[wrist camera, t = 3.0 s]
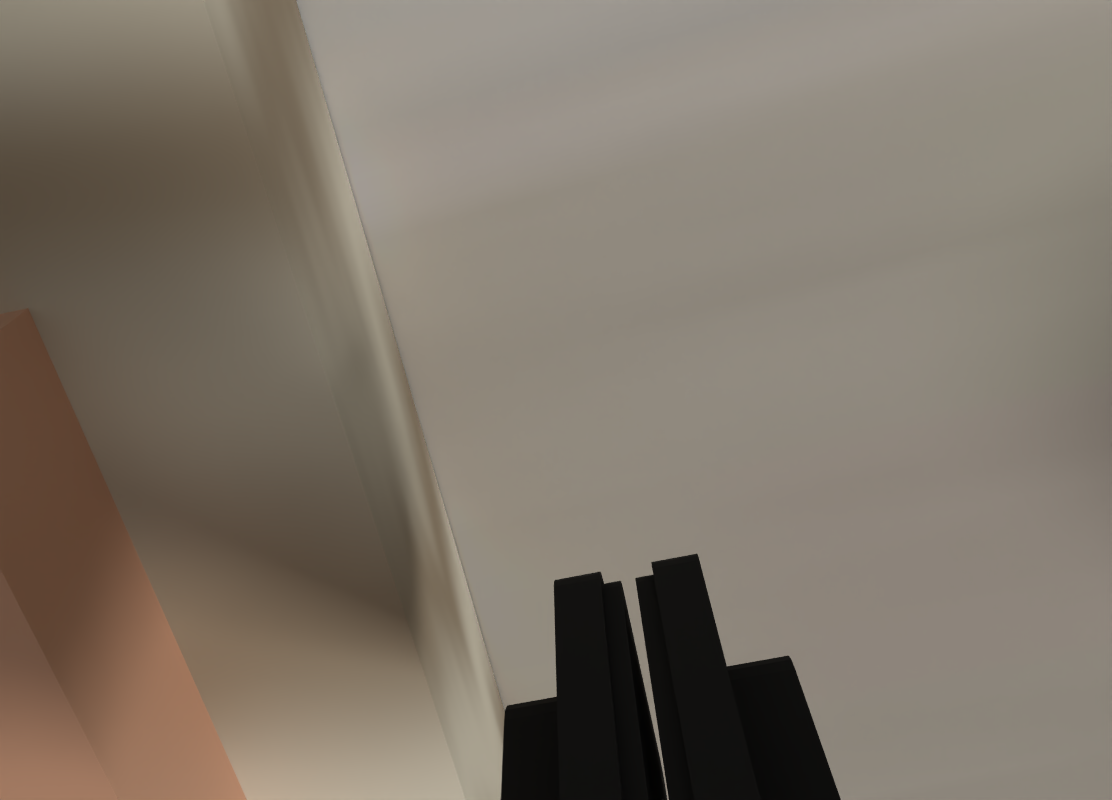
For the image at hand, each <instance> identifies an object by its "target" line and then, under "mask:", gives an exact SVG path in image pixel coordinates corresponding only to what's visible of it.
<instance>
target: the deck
mask: <svg viewBox="0 0 1112 800" xmlns="http://www.w3.org/2000/svg"><path fill="white" fill-rule="evenodd" d="M26 308H28V309H29V311H30V313H31V316H32V318H33V320H34V322H35V325H36V327H37V329H38V331H39V334H40V336H41V338H42V340H43V343H44V345H45V347H46V349H47V352H48V354H49V356H50V358H51V361H52V363H53V365H54V367H55V370H56V372H57V374H58V376H59V379H60V381H61V383H62V385H63V388H64V390H65V392H66V394H67V397H68V399H69V401H70V403H71V406H72V408H73V410H74V412H75V415H76V417H77V419H78V421H79V424H80V426H81V428H82V430H83V432H84V435H85V437H86V439H87V441H88V444H89V446H90V448H91V450H92V453H93V455H94V457H95V459H96V462H97V464H98V466H99V468H100V471H101V473H102V475H103V477H104V480H105V482H106V484H107V486H108V489H109V491H110V493H111V495H112V498H113V500H114V502H115V504H116V507H117V509H118V511H119V513H120V516H121V518H122V520H123V522H124V525H125V527H126V529H127V531H128V534H129V536H130V538H131V540H132V543H133V545H134V547H135V549H136V552H137V554H138V556H139V558H140V561H141V563H142V565H143V567H144V570H145V572H146V574H147V576H148V579H149V581H150V583H151V585H152V588H153V590H154V592H155V594H156V597H157V599H158V601H159V603H160V606H161V608H162V610H163V612H164V615H165V617H166V619H167V621H168V624H169V626H170V628H171V630H172V632H173V635H174V637H175V639H176V641H177V644H178V646H179V648H180V650H181V653H182V655H183V657H184V659H185V662H186V664H187V666H188V668H189V671H190V673H191V675H192V677H193V680H194V682H195V684H196V686H197V689H198V691H199V693H200V695H201V698H202V700H203V702H204V704H205V707H206V709H207V711H208V713H209V716H210V718H211V720H212V722H213V725H214V727H215V729H216V731H217V734H218V736H219V738H220V740H221V743H222V745H223V747H224V749H225V752H226V754H227V756H228V758H229V761H230V763H231V765H232V767H233V770H234V772H235V774H236V776H237V779H238V781H239V783H240V785H241V788H242V790H243V792H244V794H245V797H246V799H247V800H501V782H502V758H503V734H504V716H505V712H504V709H503V705H502V702H501V698H500V695H499V692H498V688H497V685H496V681H495V678H494V674H493V671H492V668H491V664H490V661H489V657H488V654H487V651H486V647H485V644H484V640H483V637H482V634H481V630H480V627H479V623H478V620H477V616H476V613H475V610H474V606H473V603H472V599H471V596H470V593H469V589H468V586H467V582H466V579H465V576H464V572H463V569H462V565H461V562H460V558H459V555H458V552H457V548H456V545H455V541H454V538H453V535H452V531H451V528H450V524H449V521H448V518H447V514H446V511H445V507H444V504H443V500H442V497H441V494H440V490H439V487H438V483H437V480H436V477H435V473H434V470H433V466H432V463H431V460H430V456H429V453H428V449H427V446H426V442H425V439H424V436H423V432H422V429H421V425H420V422H419V419H418V415H417V412H416V408H415V405H414V402H413V398H412V395H411V391H410V388H409V384H408V381H407V378H406V374H405V371H404V367H403V364H402V361H401V357H400V354H399V350H398V347H397V344H396V340H395V337H394V333H393V330H392V326H391V323H390V320H389V316H388V313H387V309H386V306H385V303H384V299H383V296H382V292H381V289H380V286H379V282H378V279H377V275H376V272H375V269H374V265H373V262H372V258H371V255H370V251H369V248H368V245H367V241H366V238H365V234H364V231H363V228H362V224H361V221H360V217H359V214H358V211H357V207H356V204H355V200H354V197H353V193H352V190H351V187H350V183H349V180H348V176H347V173H346V170H345V166H344V163H343V159H342V156H341V153H340V149H339V146H338V142H337V139H336V135H335V132H334V129H333V125H332V122H331V118H330V115H329V112H328V108H327V105H326V101H325V98H324V95H323V91H322V88H321V84H320V81H319V77H318V74H317V71H316V67H315V64H314V60H313V57H312V54H311V50H310V47H309V43H308V40H307V37H306V33H305V30H304V26H303V23H302V19H301V16H300V13H299V9H298V6H297V2H296V0H0V314H3V313H7V312H12V311H17V310H22V309H26Z"/></svg>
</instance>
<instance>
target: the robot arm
mask: <svg viewBox="0 0 1112 800" xmlns="http://www.w3.org/2000/svg"><path fill="white" fill-rule="evenodd" d="M651 563H652V569H653V574H654V575H649V576H644V577H639V578H636V586H637V592H638V599H639V605H640V612H641V618H642V625H643V632H644V638H645V645H646V651H647V658H648V664H649V671H650V678H651V684H652V691H653V697H654V704H655V710H656V717H657V724H658V730H659V737H660V743H661V750H662V756H663V763H664V770H665V776H666V783H667V789H668V796H669V800H841V799H840V796H839V793H838V791H837V788H836V785H835V782H834V779H833V776H832V773H831V771H830V768H829V765H828V762H827V759H826V756H825V753H824V751H823V748H822V745H821V742H820V739H819V736H818V733H817V730H816V728H815V725H814V722H813V719H812V716H811V713H810V710H809V708H808V705H807V702H806V699H805V696H804V693H803V690H802V688H801V685H800V682H799V679H798V676H797V673H796V670H795V668H794V665H793V663H792V660H791V658H790V657H789V656H784V657H778V658H773V659H767V660H761V661H756V662H750V663H744V664H739V665H733V666H728V667H727V666H726V662H725V658H724V654H723V650H722V646H721V643H720V639H719V635H718V631H717V627H716V623H715V619H714V615H713V612H712V608H711V604H710V600H709V596H708V592H707V588H706V584H705V581H704V577H703V573H702V569H701V565H700V561H699V557H698V554H693V555H688V556H682V557H677V558H672V559H666V560H661V561H656V562H651ZM554 606H555V644H556V682H557V697H553V698H547V699H542V700H536V701H531V702H525V703H519V704H514V705H508V706H507V708H506V710H505V716H504V734H503V758H502V782H501V800H667V795H666V789H665V783H664V777H663V772H662V766H661V761H660V756H659V752H658V747H657V743H656V738H655V733H654V729H653V724H652V720H651V715H650V710H649V706H648V701H647V697H646V692H645V688H644V683H643V678H642V674H641V669H640V665H639V660H638V655H637V651H636V646H635V642H634V637H633V632H632V628H631V623H630V619H629V614H628V610H627V605H626V600H625V596H624V591H623V587H622V583H621V581H617V582H612V583H606V584H604V582H603V578H602V575H601V572H596V573H591V574H585V575H580V576H575V577H569V578H564V579H559V580H555V581H554Z"/></svg>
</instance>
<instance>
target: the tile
mask: <svg viewBox="0 0 1112 800" xmlns="http://www.w3.org/2000/svg"><path fill="white" fill-rule="evenodd" d="M0 800H247V799H246V797H245V794H244V792H243V790H242V788H241V785H240V783H239V781H238V779H237V776H236V774H235V772H234V770H233V767H232V765H231V763H230V761H229V758H228V756H227V754H226V752H225V749H224V747H223V745H222V743H221V740H220V738H219V736H218V734H217V731H216V729H215V727H214V725H213V722H212V720H211V718H210V716H209V713H208V711H207V709H206V707H205V704H204V702H203V700H202V698H201V695H200V693H199V691H198V689H197V686H196V684H195V682H194V680H193V677H192V675H191V673H190V671H189V668H188V666H187V664H186V662H185V659H184V657H183V655H182V653H181V650H180V648H179V646H178V644H177V641H176V639H175V637H174V635H173V632H172V630H171V628H170V626H169V624H168V621H167V619H166V617H165V615H164V612H163V610H162V608H161V606H160V603H159V601H158V599H157V597H156V594H155V592H154V590H153V588H152V585H151V583H150V581H149V579H148V576H147V574H146V572H145V570H144V567H143V565H142V563H141V561H140V558H139V556H138V554H137V552H136V549H135V547H134V545H133V543H132V540H131V538H130V536H129V534H128V531H127V529H126V527H125V525H124V522H123V520H122V518H121V516H120V513H119V511H118V509H117V507H116V504H115V502H114V500H113V498H112V495H111V493H110V491H109V489H108V486H107V484H106V482H105V480H104V477H103V475H102V473H101V471H100V468H99V466H98V464H97V462H96V459H95V457H94V455H93V453H92V450H91V448H90V446H89V444H88V441H87V439H86V437H85V435H84V432H83V430H82V428H81V426H80V424H79V421H78V419H77V417H76V415H75V412H74V410H73V408H72V406H71V403H70V401H69V399H68V397H67V394H66V392H65V390H64V388H63V385H62V383H61V381H60V379H59V376H58V374H57V372H56V370H55V367H54V365H53V363H52V361H51V358H50V356H49V354H48V352H47V349H46V347H45V345H44V343H43V340H42V338H41V336H40V334H39V331H38V329H37V327H36V325H35V322H34V320H33V318H32V316H31V313H30V311H29V309H28V308H26V309H22V310H17V311H12V312H7V313H3V314H0Z"/></svg>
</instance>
